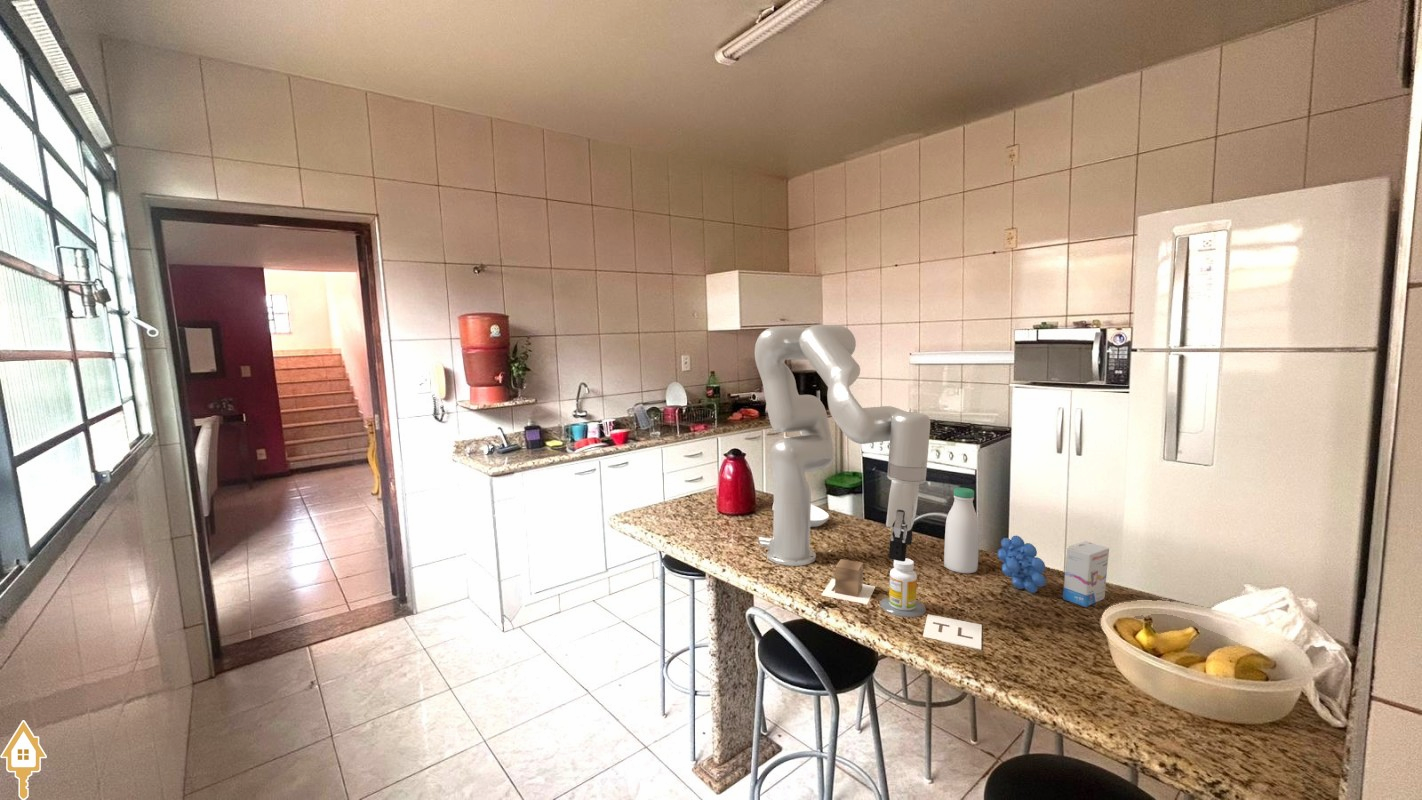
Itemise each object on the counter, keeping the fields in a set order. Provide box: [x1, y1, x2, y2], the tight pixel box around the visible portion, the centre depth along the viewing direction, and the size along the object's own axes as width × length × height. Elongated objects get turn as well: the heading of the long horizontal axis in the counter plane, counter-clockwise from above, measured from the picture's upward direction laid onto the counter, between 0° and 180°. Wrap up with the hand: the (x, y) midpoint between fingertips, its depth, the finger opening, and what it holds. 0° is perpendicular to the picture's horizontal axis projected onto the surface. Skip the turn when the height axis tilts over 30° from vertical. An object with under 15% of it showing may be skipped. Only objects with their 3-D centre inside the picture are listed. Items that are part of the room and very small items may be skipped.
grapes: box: [996, 535, 1047, 594], centre depth 127 cm, size 12×7×12 cm, turn 25°
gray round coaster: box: [880, 596, 927, 618], centre depth 119 cm, size 9×9×1 cm
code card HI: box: [820, 578, 876, 605], centre depth 126 cm, size 10×10×1 cm
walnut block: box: [834, 558, 864, 597], centre depth 126 cm, size 5×5×6 cm
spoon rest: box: [771, 502, 830, 528], centre depth 180 cm, size 24×12×7 cm, turn 28°
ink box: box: [1062, 540, 1110, 608], centre depth 122 cm, size 9×5×12 cm, turn 122°
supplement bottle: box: [888, 558, 918, 611], centre depth 118 cm, size 5×5×10 cm
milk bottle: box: [943, 487, 980, 574], centre depth 139 cm, size 8×8×20 cm
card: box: [922, 613, 983, 651], centre depth 109 cm, size 10×10×1 cm
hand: (900, 551), depth 118 cm, fingers open, 9 cm apart
